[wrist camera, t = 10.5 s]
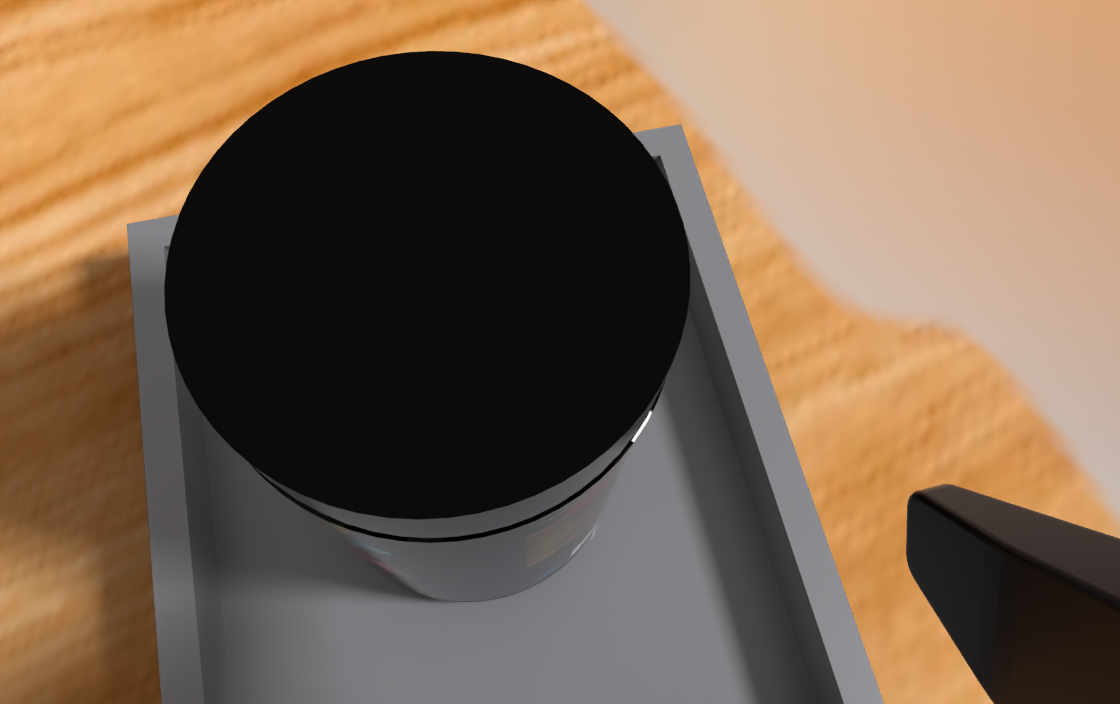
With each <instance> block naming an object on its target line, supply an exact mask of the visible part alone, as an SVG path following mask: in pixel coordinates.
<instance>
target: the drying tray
mask: <svg viewBox="0 0 1120 704" xmlns="http://www.w3.org/2000/svg"><path fill="white" fill-rule="evenodd" d="M633 134H634V135H635V136H636V137H637V138H638V139H639V140H640V142H641V143H642V144H643V145H644V147H645V148H646V149H647V151H648V152H649V153H650V155H651V156H652V157H653V159H654V160H655V162H656V163H657V165H658V167H659V168H660V170H661V172H662V173H663V175H664V177H665V178H666V180H667V182H668V185H669V187H670V189H671V191H672V193H673V195H674V198H675V200H676V202H677V205H678V208H679V211H680V214H681V217H682V220H683V224H684V228H685V233H686V238H687V242H688V249H689V259H690V297H689V305H688V312H687V318H686V322H685V326H684V330H683V334H682V338H681V342H680V345H679V347H678V350H677V353H676V355H675V358H674V361H673V363H672V366H671V368H670V370H669V372H668V374H667V377H666V381H665V383H664V386H663V389H662V391H661V394H660V397H659V399H658V402H657V404H656V406H655V408H654V410H653V412H652V414H651V416H650V418H649V420H648V422H647V424H646V426H645V428H644V429H643V431H642V432H641V434H640V435H639V437H638V438H637V440H636V441H635V443H634V444H633V447H632V449H631V451H630V453H629V456H628V458H627V460H626V462H625V465H624V467H623V469H622V471H621V474H620V476H619V478H618V480H617V483H616V485H615V487H614V489H613V492H612V494H611V496H610V498H609V500H608V503H607V505H606V507H605V509H604V512H603V514H602V516H601V518H600V520H599V522H598V524H597V526H596V528H595V530H594V531H593V533H592V534H591V536H590V537H589V539H588V540H587V542H586V543H585V544H584V546H583V547H582V548H581V549H580V551H579V552H578V553H577V554H576V555H575V556H574V557H573V558H572V559H571V560H570V561H569V562H568V563H567V564H566V565H565V566H564V567H562V568H561V569H560V570H559V571H557V572H556V573H555V574H553V575H552V576H550V577H549V578H547V579H546V580H544V581H543V582H541V583H539V584H537V585H535V586H533V587H531V588H529V589H527V590H525V591H522V592H520V593H517V594H515V595H511V596H508V597H504V598H500V599H496V600H490V601H484V602H450V601H444V600H437V599H433V598H430V597H426V596H422V595H419V594H417V593H414V592H412V591H409V590H407V589H405V588H403V587H401V586H399V585H397V584H395V583H393V582H392V581H390V580H389V579H387V578H386V577H384V576H383V575H381V574H380V573H379V572H378V571H376V570H375V569H374V568H373V567H372V566H371V565H369V564H368V563H367V562H366V561H365V560H364V559H363V558H361V557H360V556H359V555H358V554H357V553H356V552H355V551H353V550H352V549H351V548H350V547H349V546H348V545H346V544H345V543H344V542H343V541H342V540H341V539H340V538H338V537H337V536H336V535H335V534H334V533H333V532H332V531H330V530H329V529H328V528H327V527H326V526H325V525H324V524H322V523H321V522H320V521H319V520H318V519H317V518H316V517H314V516H313V515H312V514H310V513H308V512H306V511H305V510H303V509H302V508H300V507H299V506H298V505H296V504H295V503H293V502H292V501H290V500H289V499H287V498H286V497H285V496H283V495H282V494H281V493H280V492H279V491H277V490H276V489H275V488H274V487H273V486H272V485H270V484H269V483H268V482H267V481H266V480H265V479H263V478H262V476H261V475H260V474H259V473H258V472H257V471H256V470H255V469H254V468H253V467H252V466H251V465H250V464H249V463H248V462H247V461H246V460H245V459H244V458H243V457H242V456H240V455H239V454H238V453H237V452H236V451H235V450H234V449H232V448H231V447H230V446H229V444H228V443H227V442H226V441H225V440H224V439H223V438H222V437H221V436H220V435H219V434H218V433H217V432H216V431H215V429H214V428H213V427H212V426H211V424H210V423H209V422H208V420H207V419H206V417H205V416H204V415H203V413H202V412H201V411H200V409H199V408H198V406H197V405H196V403H195V401H194V399H193V398H192V396H191V394H190V392H189V390H188V389H187V387H186V385H185V383H184V381H183V378H182V376H181V373H180V371H179V368H178V366H177V364H176V361H175V358H174V354H173V351H172V347H171V343H170V340H169V336H168V329H167V323H166V316H165V299H164V283H165V272H166V262H167V257H168V252H169V247H170V242H171V238H172V235H173V232H174V229H175V226H176V223H177V220H178V217H179V215H175V216H169V217H163V218H158V219H152V220H147V221H141V222H136V223H130V224H127V233H128V247H129V261H130V275H131V288H132V302H133V316H134V330H135V344H136V357H137V371H138V385H139V399H140V413H141V426H142V440H143V454H144V468H145V482H146V495H147V509H148V523H149V537H150V551H151V565H152V578H153V592H154V606H155V620H156V634H157V647H158V661H159V675H160V689H161V703H162V704H884V702H883V699H882V696H881V694H880V691H879V688H878V685H877V682H876V679H875V676H874V674H873V671H872V668H871V665H870V662H869V659H868V656H867V654H866V651H865V648H864V645H863V642H862V639H861V637H860V634H859V631H858V628H857V625H856V622H855V619H854V617H853V614H852V611H851V608H850V605H849V602H848V599H847V597H846V594H845V591H844V588H843V585H842V582H841V579H840V577H839V574H838V571H837V568H836V565H835V562H834V559H833V557H832V554H831V551H830V548H829V545H828V542H827V539H826V537H825V534H824V531H823V528H822V525H821V522H820V519H819V517H818V514H817V511H816V508H815V505H814V502H813V499H812V497H811V494H810V491H809V488H808V485H807V482H806V480H805V477H804V474H803V471H802V468H801V465H800V462H799V460H798V457H797V454H796V451H795V448H794V445H793V442H792V440H791V437H790V434H789V431H788V428H787V425H786V422H785V420H784V417H783V414H782V411H781V408H780V405H779V402H778V400H777V397H776V394H775V391H774V388H773V385H772V382H771V380H770V377H769V374H768V371H767V368H766V365H765V362H764V360H763V357H762V354H761V351H760V348H759V345H758V342H757V340H756V337H755V334H754V331H753V328H752V325H751V323H750V320H749V317H748V314H747V311H746V308H745V305H744V303H743V300H742V297H741V294H740V291H739V288H738V285H737V283H736V280H735V277H734V274H733V271H732V268H731V265H730V263H729V260H728V257H727V254H726V251H725V248H724V245H723V243H722V240H721V237H720V234H719V231H718V228H717V225H716V223H715V220H714V217H713V214H712V211H711V208H710V205H709V203H708V200H707V197H706V194H705V191H704V188H703V185H702V183H701V180H700V177H699V174H698V171H697V168H696V166H695V163H694V160H693V157H692V154H691V151H690V148H689V146H688V143H687V140H686V137H685V134H684V131H683V128H682V126H681V124H680V125H674V126H669V127H663V128H658V129H652V130H646V131H641V132H635V133H633Z"/></svg>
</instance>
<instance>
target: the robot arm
mask: <svg viewBox="0 0 1120 704" xmlns="http://www.w3.org/2000/svg"><path fill="white" fill-rule="evenodd" d="M906 556H907V562H908V566H909V569H910V571H911V574H912V576H913V578H914V579H915V581H916V583H917V584H918V586H919V587H920V589H921V591H922V592H923V594H924V595H925V597H926V599H927V600H928V602H929V603H930V605H931V606H932V608H933V610H934V611H935V613H936V614H937V616H938V618H939V619H940V621H941V622H942V624H943V626H944V627H945V629H946V630H947V632H948V633H949V635H950V637H951V638H952V640H953V641H954V643H955V645H956V646H957V648H958V649H959V651H960V653H961V654H962V656H963V657H964V659H965V660H966V662H967V664H968V665H969V667H970V668H971V670H972V672H973V673H974V675H975V676H976V678H977V679H978V681H979V682H980V684H981V685H982V687H983V688H984V690H985V691H986V693H987V694H988V696H989V697H990V699H991V700H992V701H993V703H994V704H1120V539H1119V538H1116V537H1113V536H1110V535H1107V534H1104V533H1101V532H1097V531H1094V530H1091V529H1088V528H1085V527H1082V526H1079V525H1076V524H1073V523H1069V522H1066V521H1063V520H1060V519H1057V518H1054V517H1051V516H1048V515H1045V514H1042V513H1038V512H1035V511H1032V510H1029V509H1026V508H1023V507H1020V506H1017V505H1014V504H1010V503H1007V502H1004V501H1001V500H998V499H995V498H992V497H989V496H986V495H983V494H979V493H976V492H973V491H970V490H967V489H964V488H961V487H958V486H955V485H951V484H942V485H938V486H934V487H930V488H926V489H922V490H918V491H915V492H914V493H913V494H912V495H911V496H910V498H909V500H908V506H907V541H906Z"/></svg>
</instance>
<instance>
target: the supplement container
mask: <svg viewBox="0 0 1120 704" xmlns="http://www.w3.org/2000/svg"><path fill="white" fill-rule="evenodd" d="M689 297H690V259H689V249H688V242H687V238H686V233H685V228H684V224H683V220H682V217H681V214H680V211H679V208H678V205H677V202H676V200H675V198H674V195H673V193H672V191H671V189H670V187H669V185H668V182H667V180H666V178H665V177H664V175H663V173H662V172H661V170H660V168H659V167H658V165H657V163H656V162H655V160H654V159H653V157H652V156H651V155H650V153H649V152H648V151H647V149H646V148H645V147H644V145H643V144H642V143H641V142H640V140H639V139H638V138H637V137H636V136H635V135H634V134H633V133H632V132H631V131H630V130H629V128H628V127H627V126H626V125H625V124H624V123H623V122H621V121H620V120H619V119H618V118H617V117H616V116H615V115H614V114H612V113H611V112H610V111H609V110H608V109H607V108H605V107H604V106H602V105H601V104H600V103H598V102H597V101H596V100H594V99H593V98H591V97H590V96H589V95H587V94H585V93H584V92H582V91H580V90H579V89H577V88H575V87H574V86H572V85H570V84H569V83H566V82H564V81H562V80H560V79H558V78H556V77H554V76H552V75H550V74H548V73H545V72H542V71H540V70H537V69H534V68H532V67H529V66H526V65H523V64H520V63H516V62H512V61H509V60H505V59H501V58H496V57H491V56H486V55H480V54H472V53H463V52H446V51H425V52H408V53H400V54H393V55H386V56H380V57H376V58H372V59H367V60H363V61H358V62H355V63H352V64H349V65H346V66H343V67H339V68H336V69H334V70H331V71H329V72H326V73H324V74H321V75H319V76H317V77H314V78H312V79H310V80H308V81H306V82H304V83H302V84H300V85H298V86H296V87H294V88H292V89H290V90H289V91H287V92H286V93H284V94H283V95H281V96H279V97H278V98H276V99H275V100H273V101H271V102H270V103H269V104H267V105H266V106H265V107H263V108H262V109H261V110H259V111H258V112H257V113H255V114H254V115H253V116H251V117H250V118H249V119H248V120H247V121H246V122H245V123H244V124H243V125H242V126H240V127H239V128H238V129H237V130H236V131H235V132H234V133H233V134H232V135H231V136H230V137H229V138H228V139H227V140H226V142H225V143H224V144H223V145H222V146H221V147H220V148H219V149H218V150H217V152H216V153H215V154H214V156H213V157H212V158H211V160H210V161H209V162H208V164H207V165H206V166H205V168H204V169H203V170H202V172H201V174H200V175H199V177H198V179H197V180H196V182H195V184H194V185H193V187H192V189H191V190H190V192H189V194H188V196H187V199H186V201H185V203H184V205H183V207H182V210H181V212H180V214H179V217H178V220H177V223H176V226H175V229H174V232H173V235H172V238H171V242H170V247H169V252H168V257H167V262H166V272H165V283H164V299H165V316H166V323H167V329H168V336H169V340H170V343H171V347H172V351H173V354H174V358H175V361H176V364H177V366H178V368H179V371H180V373H181V376H182V378H183V381H184V383H185V385H186V387H187V389H188V390H189V392H190V394H191V396H192V398H193V399H194V401H195V403H196V405H197V406H198V408H199V409H200V411H201V412H202V413H203V415H204V416H205V417H206V419H207V420H208V422H209V423H210V424H211V426H212V427H213V428H214V429H215V431H216V432H217V433H218V434H219V435H220V436H221V437H222V438H223V439H224V440H225V441H226V442H227V443H228V444H229V446H230V447H231V448H232V449H234V450H235V451H236V452H237V453H238V454H239V455H240V456H242V457H243V458H244V459H245V460H246V461H247V462H248V463H249V464H250V465H251V466H252V467H253V468H254V469H255V470H256V471H257V472H258V473H259V474H260V475H261V476H262V478H263V479H265V480H266V481H267V482H268V483H269V484H270V485H272V486H273V487H274V488H275V489H276V490H277V491H279V492H280V493H281V494H282V495H283V496H285V497H286V498H287V499H289V500H290V501H292V502H293V503H295V504H296V505H298V506H299V507H300V508H302V509H303V510H305V511H306V512H308V513H310V514H312V515H313V516H314V517H316V518H317V519H318V520H319V521H320V522H321V523H322V524H324V525H325V526H326V527H327V528H328V529H329V530H330V531H332V532H333V533H334V534H335V535H336V536H337V537H338V538H340V539H341V540H342V541H343V542H344V543H345V544H346V545H348V546H349V547H350V548H351V549H352V550H353V551H355V552H356V553H357V554H358V555H359V556H360V557H361V558H363V559H364V560H365V561H366V562H367V563H368V564H369V565H371V566H372V567H373V568H374V569H375V570H376V571H378V572H379V573H380V574H381V575H383V576H384V577H386V578H387V579H389V580H390V581H392V582H393V583H395V584H397V585H399V586H401V587H403V588H405V589H407V590H409V591H412V592H414V593H417V594H419V595H422V596H426V597H430V598H433V599H437V600H444V601H450V602H484V601H490V600H496V599H500V598H504V597H508V596H511V595H515V594H517V593H520V592H522V591H525V590H527V589H529V588H531V587H533V586H535V585H537V584H539V583H541V582H543V581H544V580H546V579H547V578H549V577H550V576H552V575H553V574H555V573H556V572H557V571H559V570H560V569H561V568H562V567H564V566H565V565H566V564H567V563H568V562H569V561H570V560H571V559H572V558H573V557H574V556H575V555H576V554H577V553H578V552H579V551H580V549H581V548H582V547H583V546H584V544H585V543H586V542H587V540H588V539H589V537H590V536H591V534H592V533H593V531H594V530H595V528H596V526H597V524H598V522H599V520H600V518H601V516H602V514H603V512H604V509H605V507H606V505H607V503H608V500H609V498H610V496H611V494H612V492H613V489H614V487H615V485H616V483H617V480H618V478H619V476H620V474H621V471H622V469H623V467H624V465H625V462H626V460H627V458H628V456H629V453H630V451H631V449H632V447H633V444H634V443H635V441H636V440H637V438H638V437H639V435H640V434H641V432H642V431H643V429H644V428H645V426H646V424H647V422H648V420H649V418H650V416H651V414H652V412H653V410H654V408H655V406H656V404H657V402H658V399H659V397H660V394H661V391H662V389H663V386H664V383H665V381H666V377H667V374H668V372H669V370H670V368H671V366H672V363H673V361H674V358H675V355H676V353H677V350H678V347H679V345H680V342H681V338H682V334H683V330H684V326H685V322H686V318H687V312H688V305H689Z"/></svg>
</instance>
